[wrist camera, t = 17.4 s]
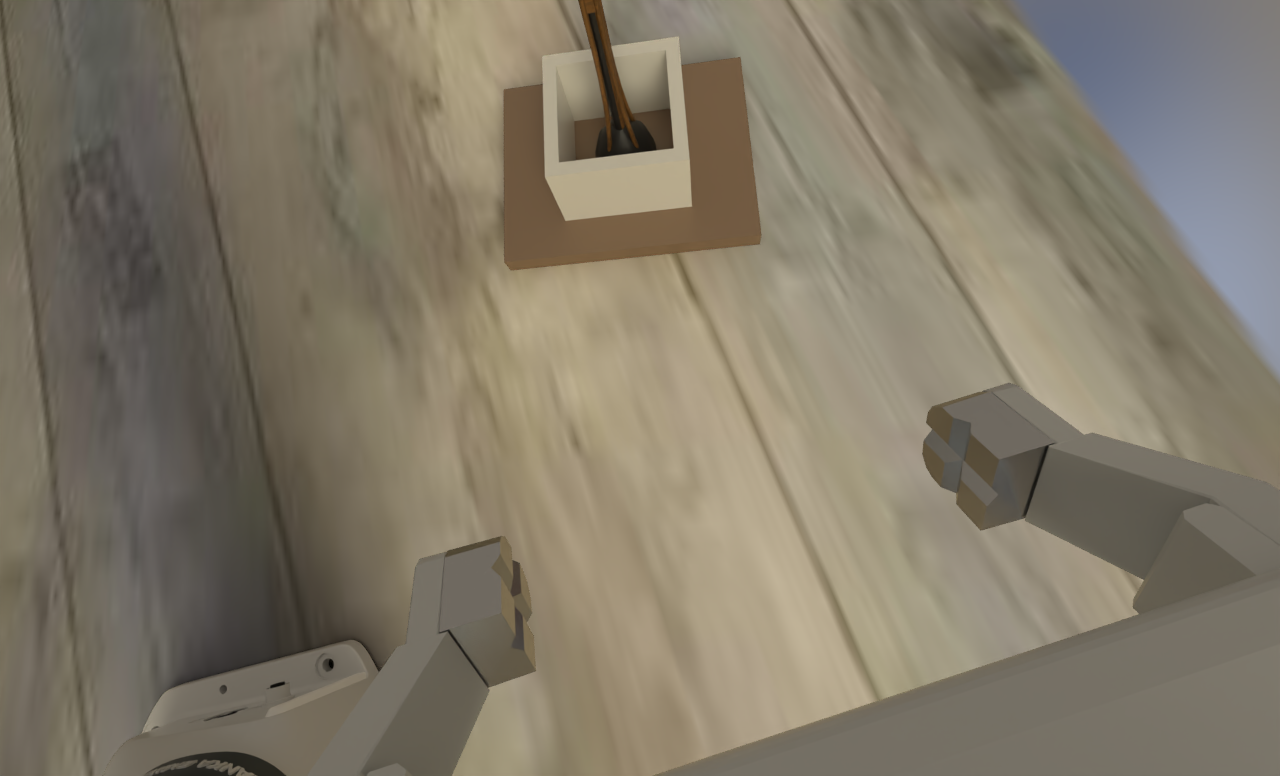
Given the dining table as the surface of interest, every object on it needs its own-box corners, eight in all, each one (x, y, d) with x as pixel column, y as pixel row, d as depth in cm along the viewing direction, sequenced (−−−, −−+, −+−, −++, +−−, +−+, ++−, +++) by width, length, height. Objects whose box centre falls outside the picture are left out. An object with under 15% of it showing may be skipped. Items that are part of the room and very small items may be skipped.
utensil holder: (510, 270, 47) (474, 224, 40) (509, 101, 51) (476, 31, 43) (759, 244, 45) (769, 190, 38) (739, 71, 49) (745, -8, 41)
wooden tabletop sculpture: (589, 190, 46) (497, -57, 27) (581, 142, 47) (488, -129, 28) (661, 174, 45) (621, -90, 26) (651, 125, 47) (606, -161, 27)
